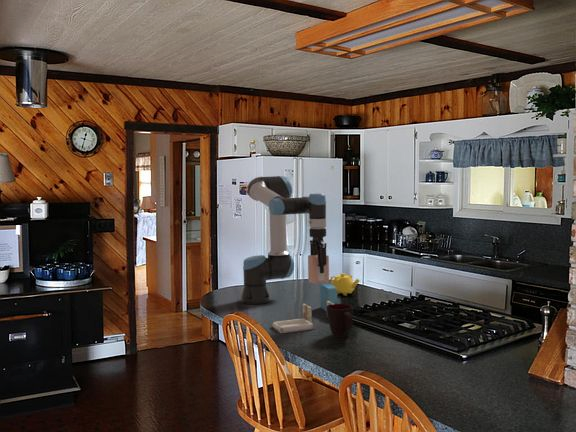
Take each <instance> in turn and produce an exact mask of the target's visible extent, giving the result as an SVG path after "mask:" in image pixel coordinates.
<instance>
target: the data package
mask: <svg viewBox="0 0 576 432" xmlns="http://www.w3.org/2000/svg"><path fill="white" fill-rule="evenodd" d="M319 292H320V293H319V295H320V296H319V297H320V299H319V301H320V308H321V309H322V310H324V311H325V312H326V313H327V301H330V302H332V303H334V304H338V295H337V288H336V287H335V286H333V285H331V283H320V286H319Z"/></svg>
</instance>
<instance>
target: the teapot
mask: <svg viewBox="0 0 576 432" xmlns="http://www.w3.org/2000/svg"><path fill="white" fill-rule="evenodd" d="M333 278H334V279H333ZM352 279H353V275H350V274H348V275H346V273H345V272H343V273H342V272H341V273H340V275H332V276H331V277H330V278H329V281H330V284H331V285H333V286H335V287H336V288H337V296H338V295H339V294H342V295H343V297H345V296H348V295H350V294H352V293H353V291H354V290H355V288H356V286H357V285H358V283H359V282H360V279H358V278H356V279H355V281H354V280H352Z"/></svg>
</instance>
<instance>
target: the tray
mask: <svg viewBox="0 0 576 432" xmlns="http://www.w3.org/2000/svg"><path fill="white" fill-rule="evenodd" d="M271 324H272V325H271V326H272V328H273V329H275V330H276V331H277V332H279V334H289V333H296V332H302V331H309V330H310V331H312V330H314V329H315V328H314V327H315V325H314V323H311V322H309V321H308V320H306V319H304V318H303V317H302V318H295V319H289V320H288V319H287V320H279V321H272V322H271Z"/></svg>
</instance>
